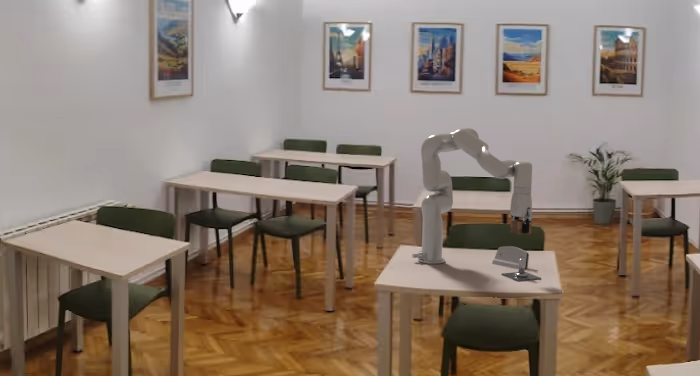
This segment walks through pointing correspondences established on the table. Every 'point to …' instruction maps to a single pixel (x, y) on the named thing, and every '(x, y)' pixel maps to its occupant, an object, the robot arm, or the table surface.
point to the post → (521, 273)
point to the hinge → (510, 257)
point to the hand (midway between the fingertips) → (520, 231)
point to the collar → (518, 227)
